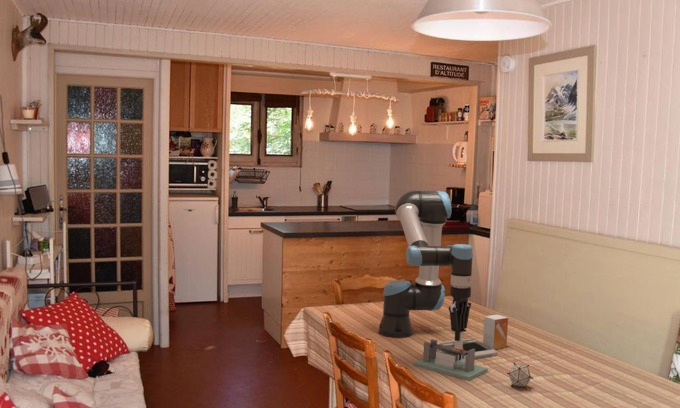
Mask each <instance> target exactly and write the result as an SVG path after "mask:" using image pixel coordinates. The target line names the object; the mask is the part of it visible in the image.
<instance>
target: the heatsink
mask: <svg viewBox="0 0 680 408" xmlns="http://www.w3.org/2000/svg"><path fill="white" fill-rule="evenodd" d="M464 365H465V356H464V355H459V354H455V353H451V352H447V351H442V350H437V351H436V358H435V366H439V367H442V368H446V369H450V370H455V369H458V368H460V367H462V366H464Z"/></svg>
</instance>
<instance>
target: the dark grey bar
mask: <svg viewBox="0 0 680 408" xmlns="http://www.w3.org/2000/svg"><path fill="white" fill-rule="evenodd" d="M430 343H431V342H430ZM430 348H434V349H437V351H440V350H442V351H447V352H451V353H455V354H459V355H464V356H466V355H468V351H465V350H463V349H461V350H459V349H455V348H452V347H448V346H443V345H440V343H439V344H438V343H437V344H434V343H431V347H430Z"/></svg>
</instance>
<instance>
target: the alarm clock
mask: <svg viewBox="0 0 680 408" xmlns="http://www.w3.org/2000/svg"><path fill="white" fill-rule="evenodd" d="M454 342H455V340H450V341H442V342H441V341H440V342H439V345H443V346H448V347H452V348H454ZM471 349H475V360H479V358H480V359H485V357H487V358H492V357H497V356H498V351H497V350H496V349H495V350H494V349H491V348H490V347H488V346H486V345H485V344H483V342H480V341H478V340H476V339H475V338H474V337H473V338H463V350H465V351H469V350H471ZM496 355H497V356H496ZM466 356H467V355H466ZM466 356H465V357H466Z"/></svg>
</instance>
